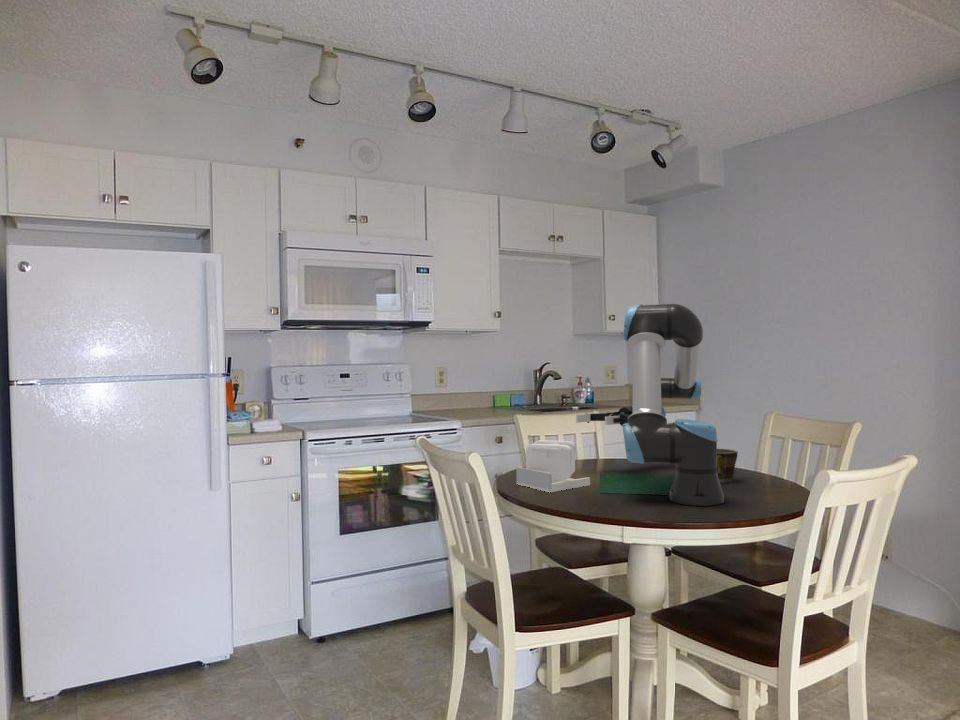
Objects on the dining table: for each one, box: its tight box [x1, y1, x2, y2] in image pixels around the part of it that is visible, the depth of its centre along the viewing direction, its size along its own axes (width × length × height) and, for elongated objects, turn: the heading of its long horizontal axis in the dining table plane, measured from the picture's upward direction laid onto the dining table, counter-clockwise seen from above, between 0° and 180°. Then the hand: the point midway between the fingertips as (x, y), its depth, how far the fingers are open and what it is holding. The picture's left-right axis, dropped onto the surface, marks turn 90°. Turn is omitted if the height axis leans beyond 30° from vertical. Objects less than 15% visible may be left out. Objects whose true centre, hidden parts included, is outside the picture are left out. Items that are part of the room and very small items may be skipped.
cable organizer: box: [525, 439, 576, 481], centre depth 227 cm, size 15×11×12 cm
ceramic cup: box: [717, 448, 738, 484], centre depth 229 cm, size 13×10×10 cm
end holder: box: [515, 466, 591, 493], centre depth 227 cm, size 16×18×6 cm
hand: (590, 419), depth 237 cm, fingers open, 13 cm apart
